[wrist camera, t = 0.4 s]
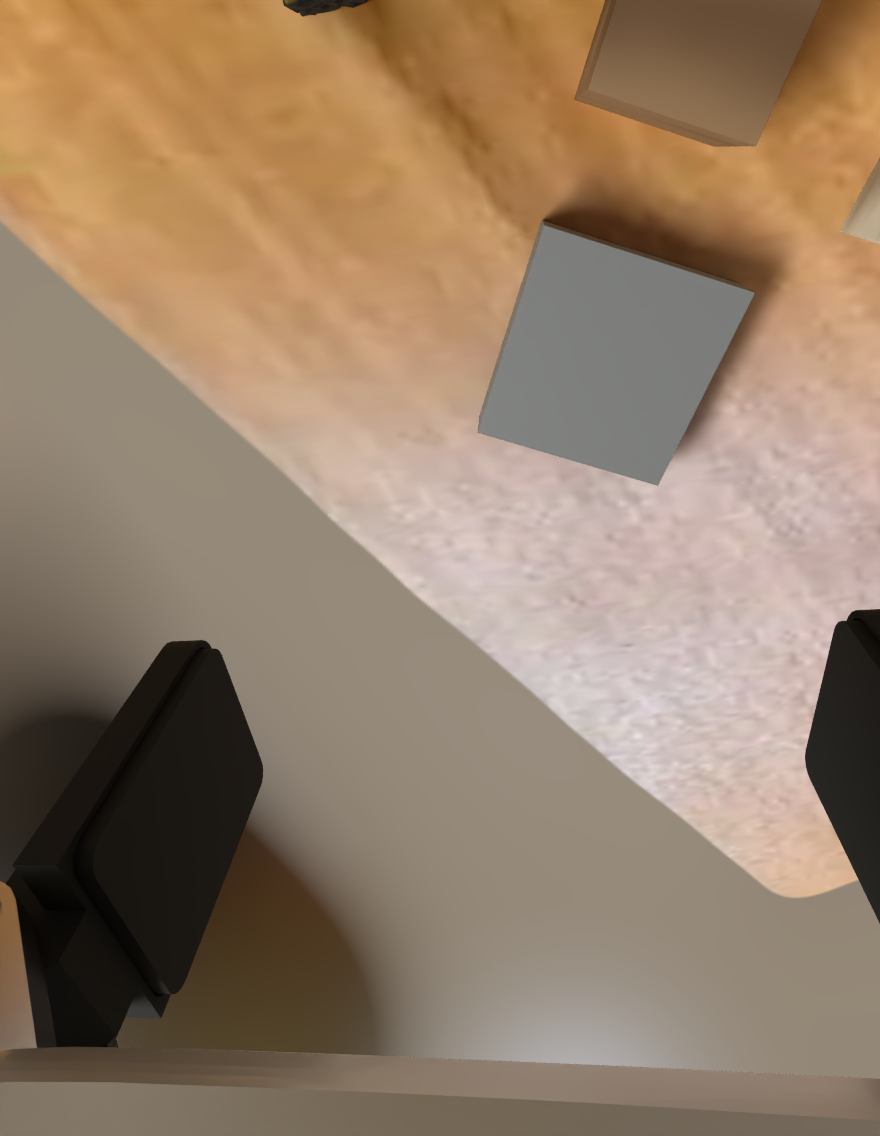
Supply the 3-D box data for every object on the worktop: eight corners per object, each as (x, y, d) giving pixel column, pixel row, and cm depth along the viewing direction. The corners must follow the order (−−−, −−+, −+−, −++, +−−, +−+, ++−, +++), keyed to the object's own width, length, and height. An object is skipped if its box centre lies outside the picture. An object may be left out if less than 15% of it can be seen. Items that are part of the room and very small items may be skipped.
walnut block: (636, -101, 25) (668, -163, 20) (793, -45, 26) (862, -91, 21) (574, 99, 29) (587, 89, 24) (713, 146, 29) (756, 146, 24)
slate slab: (541, 220, 31) (544, 225, 29) (738, 283, 32) (755, 292, 30) (479, 416, 37) (477, 432, 35) (649, 466, 37) (657, 485, 35)
